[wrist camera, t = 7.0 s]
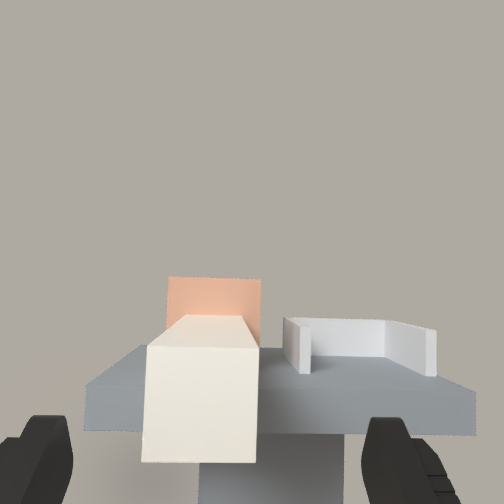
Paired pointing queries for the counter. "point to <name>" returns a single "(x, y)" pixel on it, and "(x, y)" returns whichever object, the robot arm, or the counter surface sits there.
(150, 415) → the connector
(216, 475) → the stand
